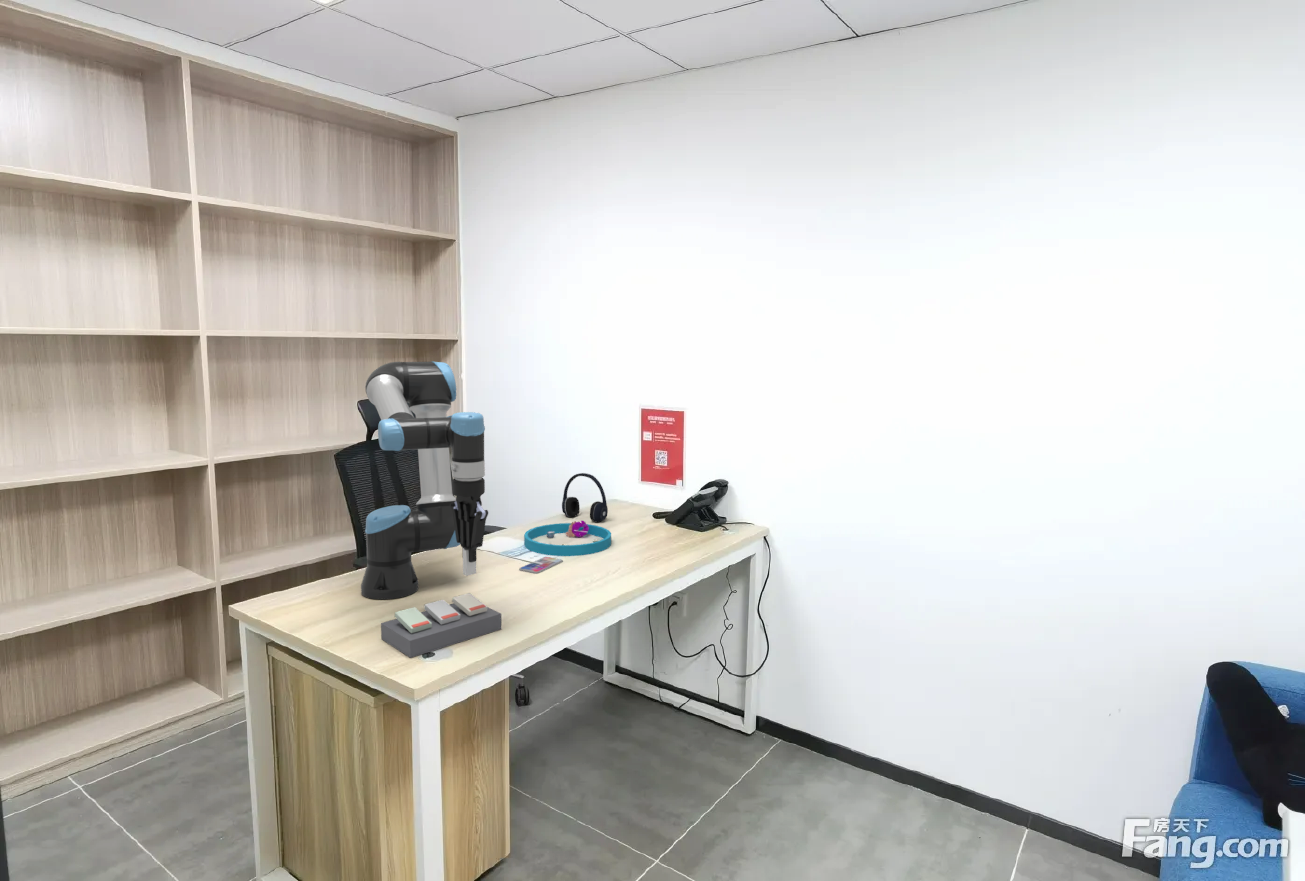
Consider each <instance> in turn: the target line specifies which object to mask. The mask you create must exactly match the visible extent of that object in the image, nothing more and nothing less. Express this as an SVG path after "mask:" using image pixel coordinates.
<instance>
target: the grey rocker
mask: <svg viewBox="0 0 1305 881" xmlns="http://www.w3.org/2000/svg"><path fill="white" fill-rule="evenodd" d="M449 604H450V603H448V602H447V601H446V600H444V599H440V600H436V601H433V602H427V603H425V604H424V606H423V608H424V609H423V610H424V611H427V612H428V613H429V614H430V615H431V616H432V617H433V618H435V619H436V620H437V621H438V622H439V623H440V624H441V625H442V624H445V623H449V622H452V621H455V620H459V619H460V614H459V613H458V612H457V611H456V610H455V609H453V608H452V607H451V606H450V605H449Z"/></svg>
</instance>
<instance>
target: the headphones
mask: <svg viewBox="0 0 1305 881" xmlns="http://www.w3.org/2000/svg"><path fill="white" fill-rule="evenodd" d="M577 477H585V478H588V479H590V480H592V482H594V483H595V485H596V486H597V487H598V489H599V492H600V495H601V499H602V501H599V500H598V501H595V502H593V503H592V504H591V505H590V509H589V519H590V521H592V522H594V523H600V522H602V521H605V520H606V519H607V517H608V511H609V510H608V503H607V498H606V494H605V490H604V488H603V486H602V484H601V482H600V481H599V479H598V478H596V476H594V475H593V474H590V473H586V472H581V473H576V474H574V475H572V476H571V477H570V478H569V480H568V481H567V483H566V484H565V487H564V490H563V497H562V502H561V510H562V513H563V514H564V515H565V517H568V518H573V517H577V516H578V515H579V513H580V510H581V509H580V501H579V499H578V498H577V497H575V496H568V490H569V488H570V484H571V483H572V482H573V481H574V480H575V479H576V478H577Z"/></svg>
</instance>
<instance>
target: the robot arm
mask: <svg viewBox="0 0 1305 881" xmlns="http://www.w3.org/2000/svg"><path fill="white" fill-rule="evenodd" d="M456 383H457V382H456V378H455V375H454V371H453V369H452V368H451V366H450V365H449V364H448V363H446V362H443V361H442V362H441V361H439V362H438V361H433V360H431V361H392V362H388V363H384V364H383V365H381V366H379V367H377V368H376V369H374V370H373V371H372V372H371V373H370V375H369V376H368V377H367V380H366V382H365V387H364V388H365V393H366V397H367V399H368V401H369V402H370V403H371V404H372V405H374V407H375V409H376V410H377V413H378V415H379V418H380V421H379V423H378V427H377V437H378V438H377V439H378V444H379V448H380V449H381V450H382V451H394V452H401V451H411V450H414V451H415V450H417V454H418V457H417V458H418V467H419V469H418V471H419V482H420V483H419V484H420V495H421V496H420V499H418V501H417V502H416V503H415V504H416V505H415V506H416V509H412V510H411V508H410V506H408V505H404V504H400V505H397V504H395V505H389V506H384V507H381V508H378V509H375V510H373V511H371V512H370V513H368V514H367V516H366V518H365V529H364V532H365V534H366V535H365V536H366V538H365V540H366V568H365V570H364V575H363V578H362V581H361V584H360V589H361V590H360V594H361V595H362V597H364V598H368V599H371V600H394V599H399V598H404V597H406V596H410V595H412V594H414V593H416V592H417V591H418V590H419V578H418V576H417V573H416V571H415V568H414V565H413V562H412V553H417V552H425V551H433V550H434V551H436V550H447V549H452V548H456V547H459V546H460V547H461V548H462V551H461V552H462V554H461V555H462V574H463V575H464V576H466V577H467V576H471V575H475V574H477V549H478V548H481V547H483V545H484V544H483V543H484V535H485V527H486V523H487V518H488V516H489V510H488V509H484V508H483V507H482V505H483V504H482V499H481V496H482V495H484V493H486V492H485V491H486V483H485V478H483V477H485V476H486V472H485V470H486V469H485V468H486V467H485V464H486V463H485V430H486V426H485V423H484V422H485V421H484V415H483V414H481V413H480V412H474V411H462V412H455V413H453V414H452V415H448V416H447V413H448V411H449V410H451V408H452V403H453V402H455V400H457V384H456ZM414 415H415V416H414ZM450 448H451V459H450ZM452 478H453V479H452Z"/></svg>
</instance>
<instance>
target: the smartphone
mask: <svg viewBox="0 0 1305 881" xmlns="http://www.w3.org/2000/svg"><path fill="white" fill-rule="evenodd" d="M563 562H564V560H563V559H559V558H555V557H550V556H543V557H542V558H541V557H540V558H539V559H536V560H535V561H532V562H530V563H527V564H525V565H523V566H521V567H519V569H518V571H520V572H524V573H529V574H534V575H535V574H536V575H538V574H540V573H543V572H545V571H547V570H548V569H551V568H553V567H555V566H557V565H560V564H562V563H563Z"/></svg>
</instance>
